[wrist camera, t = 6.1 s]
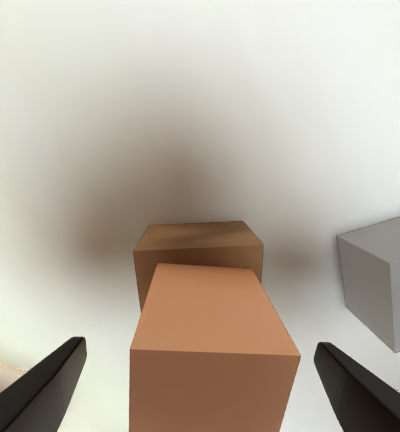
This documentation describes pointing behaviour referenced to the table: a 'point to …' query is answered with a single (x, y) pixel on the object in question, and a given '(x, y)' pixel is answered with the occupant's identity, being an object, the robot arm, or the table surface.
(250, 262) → the walnut block
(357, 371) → the robot arm
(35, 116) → the table surface
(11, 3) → the table surface
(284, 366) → the terracotta cube
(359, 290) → the slate block
